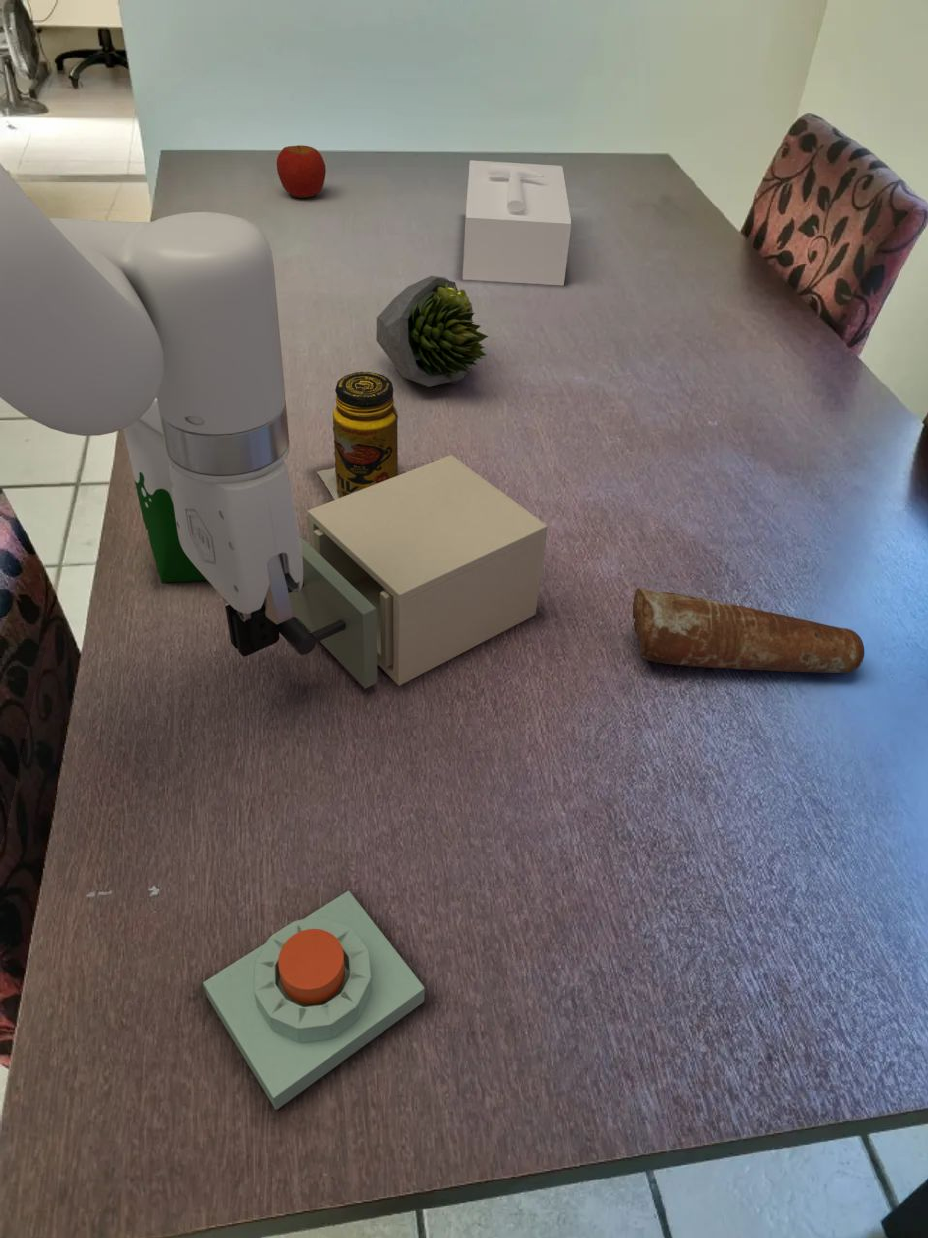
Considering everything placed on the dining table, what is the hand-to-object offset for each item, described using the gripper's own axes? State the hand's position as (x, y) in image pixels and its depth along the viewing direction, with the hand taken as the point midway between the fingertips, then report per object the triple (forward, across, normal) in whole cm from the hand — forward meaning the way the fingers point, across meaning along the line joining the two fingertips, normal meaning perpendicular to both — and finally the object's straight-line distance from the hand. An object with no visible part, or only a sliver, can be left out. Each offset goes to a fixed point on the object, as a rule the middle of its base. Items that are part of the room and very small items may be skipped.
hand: (255, 643), depth 70 cm
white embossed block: (+5, -58, +76) cm, 96 cm away
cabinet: (+5, 0, +16) cm, 17 cm away
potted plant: (+5, -32, +42) cm, 53 cm away
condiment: (+5, -18, +22) cm, 29 cm away
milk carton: (+5, -17, +4) cm, 18 cm away
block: (+5, +24, -10) cm, 26 cm away
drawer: (+4, 0, +11) cm, 11 cm away
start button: (+2, +24, -10) cm, 26 cm away
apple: (+5, -94, +61) cm, 112 cm away
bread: (+5, +20, +34) cm, 40 cm away
